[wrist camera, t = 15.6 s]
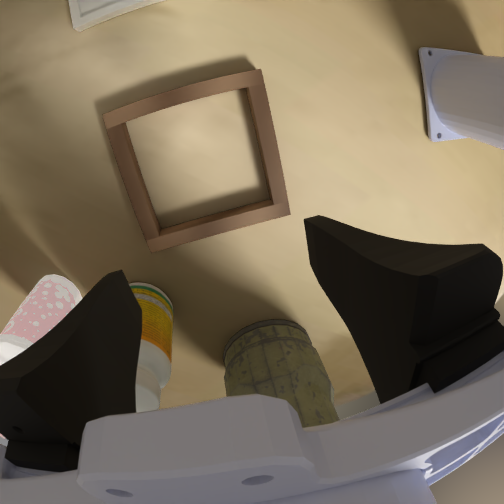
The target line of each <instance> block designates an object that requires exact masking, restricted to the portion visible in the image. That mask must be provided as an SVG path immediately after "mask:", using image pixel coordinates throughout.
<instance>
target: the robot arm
mask: <svg viewBox="0 0 504 504" xmlns="http://www.w3.org/2000/svg"><path fill="white" fill-rule="evenodd" d="M428 51H429V53H430V55H429V54H428ZM419 57H420V63H421V69H422V76H423V83H424V91H425V100H426V111H427V123H428V137H429V139H430V140H431V141H433V142H438V141H446V140H453V139H462V138H471V139H474V140H477V141H480V142H483V143H486V144H489V145H492V146H495V147H497V148H500V149H503V150H504V57H498V56H486V55H481V54H475V53H469V52H462V51H455V50H448V49H439V48H429V47H421V48H420V49H419ZM437 134H439V135H438V137H437ZM304 225H305V231H306V238H307V245H308V252H309V260H310V265H311V267H312V270H313V272H314V274H315V276H316V278H317V280H318V282H319V284H320V286H321V287H322V289H323V290H324V292H325V293H326V295H327V296H328V298H329V300H330V301H331V303H332V304H333V306H334V307H335V309H336V310H337V312H338V313H339V315H340V316H341V318H342V319H343V321H344V322H345V324H346V326H347V327H348V329H349V331H350V333H351V335H352V337H353V339H354V341H355V343H356V345H357V347H358V350H359V352H360V354H361V356H362V359H363V361H364V363H365V365H366V368H367V370H368V372H369V375H370V377H371V380H372V382H373V385H374V387H375V390H376V393H377V395H378V398H379V401H380V405H378V406H376V407H373V408H371V409H368V410H366V411H363V412H361V413H358V414H356V415H353V416H350V417H348V418H345V419H342V420H339V421H336V422H334V423H330V424H325V425H319V426H313V427H306V428H302V425H301V422H300V419H299V416H298V413H297V411H296V410H295V409H294V408H293V407H292V406H291V405H290V404H289V403H288V402H287V401H286V400H283V399H279V398H275V397H270V396H265V395H260V394H250V395H239V396H228V397H223V398H218V399H214V400H209V401H204V402H199V403H194V404H188V405H183V406H177V407H171V408H165V409H158V410H151V411H144V412H136V374H137V366H138V358H139V351H140V343H141V336H142V309H141V307H140V305H139V303H138V301H137V299H136V297H135V295H134V293H133V291H132V289H131V287H130V285H129V283H128V281H127V279H126V277H125V275H124V273H123V271H122V270H119V271H115V272H112V273H109V274H107V275H106V276H105V277H103V278H102V279H101V280H100V281H99V282H98V283H97V284H96V285H95V286H94V287H93V288H92V289H91V290H90V291H89V292H88V293H87V294H86V295H85V296H84V298H83V299H82V300H81V301H80V302H79V303H78V304H77V305H76V306H75V307H74V308H73V309H72V310H71V311H70V312H69V313H68V314H67V315H66V316H65V317H64V318H63V319H62V320H61V321H60V322H59V323H58V324H57V325H56V326H55V327H53V328H52V329H51V330H50V331H49V332H48V333H47V334H45V335H44V336H43V337H42V338H40V339H39V340H38V341H36V342H35V343H34V344H32V345H31V346H30V347H28V348H27V349H26V350H24V351H23V352H21V353H20V354H18V355H17V356H15V357H14V358H12V359H10V360H9V361H7V362H5V363H4V364H2V365H0V434H2V435H3V436H4V437H5V438H6V439H8V440H9V441H8V445H7V447H6V446H4V445H2V444H0V504H437V503H436V500H435V499H434V496H433V494H432V492H431V490H430V488H429V485H431V484H433V483H434V482H436V481H438V480H439V479H441V478H443V477H444V476H446V475H447V474H449V473H450V472H452V471H453V470H455V469H457V468H458V467H460V466H461V465H462V464H464V463H465V462H467V461H468V460H470V459H471V458H472V457H474V456H475V455H476V454H478V453H479V452H480V451H482V450H483V449H484V448H486V447H487V446H488V445H489V444H491V443H492V442H493V441H495V440H496V439H497V438H498V437H499V436H501V435H502V434H503V433H504V327H503V326H502V325H501V323H500V322H499V321H498V319H499V317H500V314H499V312H498V311H497V310H496V309H495V308H494V305H495V302H496V299H497V295H498V292H499V289H500V285H501V281H502V277H503V264H502V261H501V258H500V257H499V256H498V255H497V254H495V253H494V252H493V251H492V250H490V249H489V248H488V247H486V246H485V245H484V244H463V245H442V244H426V243H418V242H410V241H404V240H399V239H394V238H389V237H385V236H381V235H377V234H374V233H371V232H367V231H364V230H361V229H358V228H355V227H352V226H349V225H347V224H344V223H341V222H339V221H336V220H333V219H330V218H327V217H324V216H320V215H318V216H314V217H310V218H306V219H304Z"/></svg>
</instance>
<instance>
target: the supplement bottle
mask: <svg viewBox="0 0 504 504" xmlns="http://www.w3.org/2000/svg"><path fill="white" fill-rule="evenodd" d="M129 285H130V287H131V289H132V291H133V293H134V295H135V297H136V299H137V301H138V303H139V305H140V307H141V309H142V336H141V343H140V351H139V358H138V366H137V374H136V412H144V411H151V410H158V408H159V406H160V395H161V389H162V388H163V387H164V386H165V385H166V384H167V382H168V381H169V379H170V375H171V362H172V333H173V314H174V312H173V306H172V303H171V301H170V300H169V298H168V297H167V296H166V294H165V293H164V292H163V291H161V290H160V289H159V288H157V287H155V286H153V285H151V284H147V283H140V282H137V283H130V284H129Z"/></svg>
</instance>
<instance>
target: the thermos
mask: <svg viewBox="0 0 504 504" xmlns="http://www.w3.org/2000/svg"><path fill="white" fill-rule="evenodd" d="M223 360H224V364H225V369H226V372H225V376H224V380H225V387H226V394H227V397H228V396H239V395H250V394H260V395H265V396H270V397H275V398H279V399H283V400H286V401H287V402H288V403H289V404H290V405H291V406H292V407H293V408H294V409H295V410H296V411H297V413H298V416H299V419H300V422H301V425H302V428H306V427H313V426H319V425H325V424H330V423H334V422H336V421H339V420H340V419H339V417H338V415H337V412H336V410H335V407H334V388H333V386H332V384H331V381H330V379H329V377H328V375H327V372H326V370H325V368H324V366H323V363H322V361H321V359H320V357H319V355H318V352H317V350H316V349H315V348H314V347H313V346H312V343H311V340H310V338H309V336H308V334H307V332H306V330H304V329H303V328H302V327H301V326H299V325H298V324H296V323H293V322H290V321H287V320H267V321H262V322H257V323H254V324H252V325H250V326H248V327H245V328H243V329H242V330H240V331H239V332H238V333H236V334H235V335H234V336H233V337H232V338H231V339H230V340H229V342H228V343H227V345H226V346H225V349H224V354H223Z"/></svg>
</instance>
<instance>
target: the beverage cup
mask: <svg viewBox="0 0 504 504" xmlns="http://www.w3.org/2000/svg"><path fill="white" fill-rule="evenodd" d="M81 300H82V296H81V294H80V291H79V290H78V289H77V287H76V286H75V285H74V284H73V283H72V282H71V281H69V280H68V279H66V278H65V277H63V276H59V275H55V274H52V275H46V276H44V277H43V278H42V279H40V280H39V282H38V283H37V284H36V285H35V287H34V288H33V289H32V291H31V292H30V293H29V295H28V296H27V297H26V299H25V300H24V301H23V303H22V304H21V305H20V307H19V308H18V309H17V311H16V312H15V314H14V315H13V316H12V318H11V319H10V321H9V322H8V324H7V325H6V327H5V328H4V330H3V331H2V332H1V334H0V365H2V364H4V363H5V362H7V361H9V360H10V359H12V358H14V357H15V356H17V355H18V354H20V353H21V352H23V351H24V350H26V349H27V348H28V347H30V346H31V345H32V344H34V343H35V342H36V341H38V340H39V339H40V338H42V337H43V336H44V335H45V334H47V333H48V332H49V331H50V330H51V329H52V328H53V327H55V326H56V325H57V324H58V323H59V322H60V321H61V320H62V319H63V318H64V317H65V316H66V315H67V314H68V313H69V312H70V311H71V310H72V309H73V308H74V307H75V306H76V305H77V304H78V303H79V302H80V301H81ZM0 437H2V438H4V439H6V438H5V437H4V436H3V435H2V434H0Z"/></svg>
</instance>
